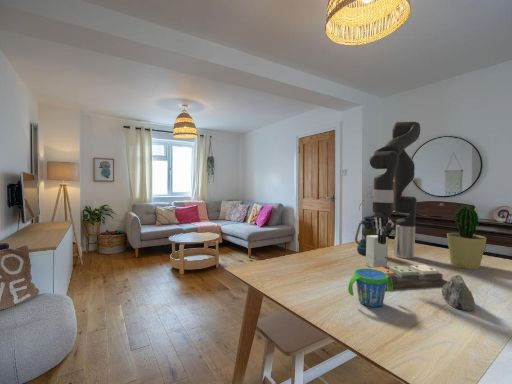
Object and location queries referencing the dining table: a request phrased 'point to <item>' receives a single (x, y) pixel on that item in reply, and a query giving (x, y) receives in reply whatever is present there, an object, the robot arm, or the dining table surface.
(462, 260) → the potted cactus
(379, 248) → the skincare box
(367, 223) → the lantern
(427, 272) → the cream button
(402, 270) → the sage button
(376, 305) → the snack cup
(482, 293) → the dining table surface
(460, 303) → the mineral rock
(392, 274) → the orange flat square block
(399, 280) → the button panel
